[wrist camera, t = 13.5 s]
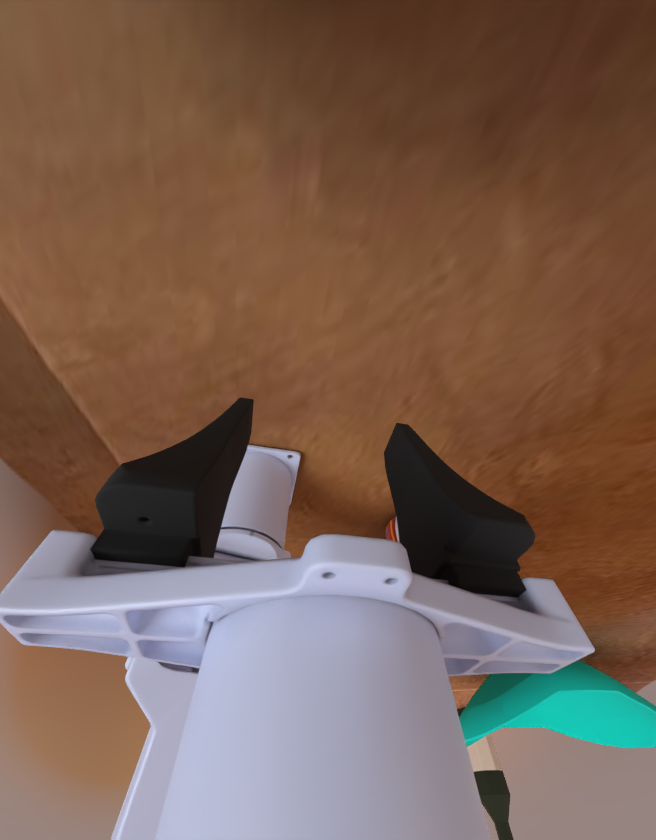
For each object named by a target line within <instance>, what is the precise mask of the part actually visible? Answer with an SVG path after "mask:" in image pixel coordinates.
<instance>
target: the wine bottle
mask: <svg viewBox="0 0 656 840" xmlns="http://www.w3.org/2000/svg"><path fill="white" fill-rule="evenodd" d="M464 709H465V708H461V709H457V712H458V716H459V717H460V715H461V713H462V712H463V710H464ZM467 750H468V754H469V758H470V762H471V765H472V769H473V773H474V777H475V781H476V784H477V788H478V792H479V796H480V800H481V803H482V804H483V806H484V807H485V809H486V810H487V812H488V814H489V815H490V816H491V818H492V820H493V821H494V823H495V826H496V831H497V834H498V838H499V840H513V837H512V833H511V830H510V827H509V823H508V816H509V804H510V793H509V790H508V787H507V784H506V780H505V777H504V775H503V771H502V768H501V765H500V761H499V758H498V755H497V752H496V749H495V745H494V742H493V739H492V736H491V733H490V734H488V735H486V736H485V737H483V738H482V739H480V740H478V741H477V742H475V743H473V744H472V745H470V746H468V747H467Z"/></svg>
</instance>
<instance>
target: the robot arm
mask: <svg viewBox="0 0 656 840" xmlns="http://www.w3.org/2000/svg"><path fill="white" fill-rule="evenodd" d="M252 414H253V399H247V398H239V399H238V400H237V401H236V402H235V403H234V404H233V405H232V406H231V407H230V408H229V409H227V410H226V411H225V412H224V413H223V414H222V415H221V416H219V417H218V418H217V419H216V420H215V421H213V422H212V423H211V424H209V425H208V426H206V427H205V428H204V429H202V430H201V431H199V432H198V433H196V434H195V435H193V436H191V437H190V438H188V439H186V440H184V441H182V442H180V443H178V444H176V445H174V446H172V447H170V448H167V449H165V450H163V451H160V452H157V453H155V454H152V455H149V456H146V457H143V458H140V459H137V460H133V461H130V462H126V463H123V464H121V466H120V467H119V468H118V469H117V470H116V471H115V472H114V473H113V474H112V475H111V477H110V478H109V479H108V480H107V482H106V483H105V484H104V486H103V487H102V488H101V490H100V491H99V492H98V493H97V496H96V499H95V502H96V507H97V510H98V512H99V515H100V518H101V520H102V523H103V526H104V528H105V529H104V530H103V532H102V533H101V535H100V536H99V538H97V537H96V536H94V535H93V534H89V533H83V532H73V531H63V530H53V531H51V532H50V533H49V535H48V536H47V537H46V538H45V540H44V541H43V542H42V543H41V544H40V546H39V547H38V548H37V549H36V551H35V552H34V553H33V554H32V555H31V557H30V558H29V559H28V561H27V562H26V563H25V564H24V565H23V566H22V568H21V569H20V570H19V572H18V573H17V574H16V575H15V576H14V577H13V579H12V580H11V581H10V582H9V584H8V585H7V586H6V587H5V589H4V590H3V591H2V592H1V593H0V623H1V624H2V625H3V626H4V627H5V628H6V629H7V630H8V631H9V632H10V633H11V634H12V635H13V636H14V637H15V638H16V639H17V640H18V641H19V642H21V644H23V645H32V646H45V647H59V648H68V649H78V650H86V651H93V652H100V653H107V654H114V655H120V656H127V657H128V659H127V661H126V664H125V667H126V669H127V670H128V672H127V674H126V677H125V681H126V684H127V686H128V688H129V689H130V691H131V692H132V694H133V696H134V697H135V699H136V700H137V702H138V704H139V705H140V707H141V709H142V710H143V712H144V713H145V715H146V717H147V718H148V720H149V722H150V724H151V727H150V730H149V733H148V736H147V738H146V741H145V744H144V747H143V750H142V752H141V756H140V758H139V761H138V764H137V767H136V770H135V772H134V775H133V778H132V781H131V784H130V786H129V789H128V792H127V795H126V798H125V801H124V803H123V806H122V809H121V812H120V815H119V817H118V820H117V823H116V826H115V829H114V832H113V834H112V837H111V840H491V838H490V834H489V830H488V827H487V823H486V819H485V815H484V811H483V808H482V804H481V800H480V796H479V792H478V788H477V784H476V781H475V777H474V773H473V769H472V765H471V762H470V758H469V754H468V750H467V746H466V742H465V739H464V735H463V731H462V727H461V723H460V720H459V716H458V712H457V708H456V704H455V700H454V697H453V693H452V689H451V685H450V681H449V677H448V676H460V675H477V674H496V673H548V674H550V673H553V672H555V671H557V670H559V669H561V668H563V667H565V666H567V665H569V664H571V663H573V662H575V661H577V660H579V659H581V658H583V657H585V656H587V655H589V654H591V653H593V652H594V651H595V648H594V647H593V645H592V643H591V642H590V640H589V638H588V637H587V635H586V633H585V632H584V630H583V628H582V627H581V625H580V623H579V622H578V620H577V618H576V617H575V615H574V614H573V612H572V610H571V609H570V607H569V605H568V604H567V602H566V600H565V599H564V597H563V595H562V594H561V592H560V590H559V589H558V587H557V585H556V584H555V582H554V580H552V579H544V578H534V577H526V578H522V579H521V578H520V576H519V574H518V573H517V571H519V570H520V566H519V564H518V562H517V559H518V558H519V557H520V556H521V555H522V554H524V553H525V552H526V551H527V550H528V549H529V548H530V547H531V545H532V544H533V542H534V539H535V533H534V531H533V529H532V528H531V526H530V525H529V523H528V521H527V520H526V518H525V517H524V515H522V514H520V513H518V512H516V511H515V510H513V509H511V508H509V507H507V506H505V505H503V504H501V503H499V502H498V501H496V500H494V499H493V498H491V497H489V496H488V495H486V494H484V493H483V492H481V491H480V490H478V489H477V488H476V487H474V486H473V485H471V484H470V483H468V482H467V481H466V480H464V479H463V478H462V477H461V476H459V475H458V474H457V473H456V472H454V471H453V470H452V469H451V468H450V467H449V466H448V465H446V464H445V463H444V462H443V461H442V460H441V459H440V458H439V457H438V456H437V455H436V454H435V453H434V452H433V451H432V450H431V449H430V448H429V447H428V446H427V444H426V443H425V442H424V441H423V440H422V439H421V438H420V437H419V436H418V435H417V433H416V432H415V431H414V430H413V429H412V428H411V427H410V426H409V425H406V424H400V423H396V426H395V428H394V430H393V433H392V435H391V437H390V440H389V442H388V445H387V447H386V449H385V452H384V457H385V468H386V473H387V478H388V482H389V486H390V490H391V494H392V498H393V502H394V506H395V511H396V517H397V525H398V533H399V542H396V541H392V540H389V539H380V538H371V537H362V536H353V535H344V534H322V535H319V536H317V537H314V538H312V539H311V540H310V541H309V542H308V544H307V545H306V546H305V550H304V553H303V555H302V557H292V558H290V554H291V553H290V552H288V551H285V550H284V545H285V536H286V527H287V518H288V509H289V505H290V504H291V501H292V496H293V491H294V486H295V482H296V477H297V472H298V467H299V462H300V457H301V455H300V453H299V452H296V451H289V450H282V449H275V448H268V447H261V446H254V445H248V443H249V439H250V435H251V427H252ZM289 455H292V456H289Z"/></svg>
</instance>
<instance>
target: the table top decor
mask: <svg viewBox="0 0 656 840" xmlns="http://www.w3.org/2000/svg"><path fill="white" fill-rule="evenodd" d="M459 720H460V723H461V727H462V731H463V735H464V739H465V742H466V746H467V747H468V746H470V745H472V744H473V743H475V742H477V741H478V740H480V739H482V738H483V737H485V736H486V735H488V734H490V733H492V732H494V731H496V730H498V729H500V728H509V727H510V728H516V727H517V728H518V727H544V728H547V729H550V730H553V731H556V732H559V733H562V734H565V735H568V736H571V737H574V738H578V739H582V740H586V741H590V742H594V743H598V744H602V745H609V746H616V747H624V748H643V747H655V746H656V706H654V705H653V704H651V703H650V702H648V701H647V700H645V699H644V698H642V697H641V696H639V695H638V694H636V693H635V692H633V691H632V690H630V689H629V688H627V687H626V686H624V685H623V684H621V683H620V682H618V681H617V680H615V679H613V678H612V677H610V676H608V675H606V674H604V673H602V672H601V671H599V670H597V669H595V668H593V667H592V666H590V665H588V664H586V663H584V662H582V661H580V660H577V661H575V662H573V663H571V664H569V665H567V666H565V667H563V668H561V669H559V670H557V671H555V672H553V673H550V674H548V673H496V674H490V675H489V676H488V677H487V678H486V680H485V681H484V682H483V683H482V685H481V686H480V687H479V689H478V690H477V691H476V692H475V694H474V695H473V696H472V698H471V700H470V701H469V703H468V704H467V706H466V707H465V709H464V710H463V712H462V713H461V715H460V717H459Z"/></svg>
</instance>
